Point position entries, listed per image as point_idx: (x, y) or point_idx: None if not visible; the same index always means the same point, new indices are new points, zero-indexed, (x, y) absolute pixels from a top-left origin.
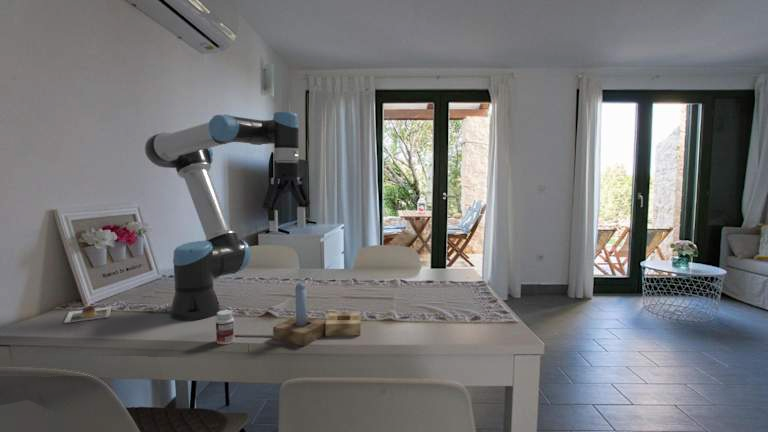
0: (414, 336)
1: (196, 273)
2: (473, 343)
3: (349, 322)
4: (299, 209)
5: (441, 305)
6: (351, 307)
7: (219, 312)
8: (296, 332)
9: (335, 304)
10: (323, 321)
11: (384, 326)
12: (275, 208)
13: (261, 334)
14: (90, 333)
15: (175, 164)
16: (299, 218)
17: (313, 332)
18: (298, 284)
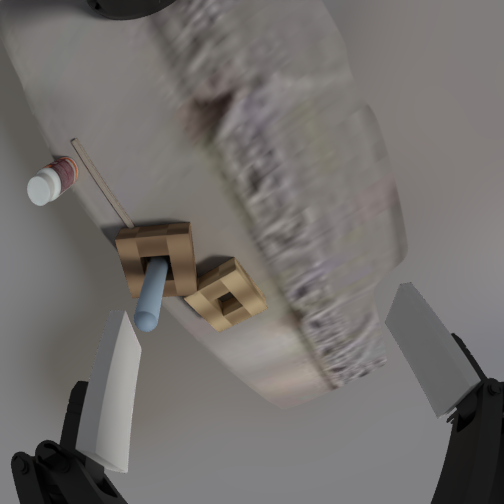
0: (252, 358)
1: None
2: (262, 391)
3: (212, 320)
4: (450, 387)
5: (378, 330)
6: (338, 237)
7: (31, 184)
8: (128, 284)
9: (346, 199)
10: (191, 290)
11: (268, 324)
12: (109, 482)
13: (114, 203)
14: None
15: None
16: (421, 335)
17: None
18: (137, 326)
